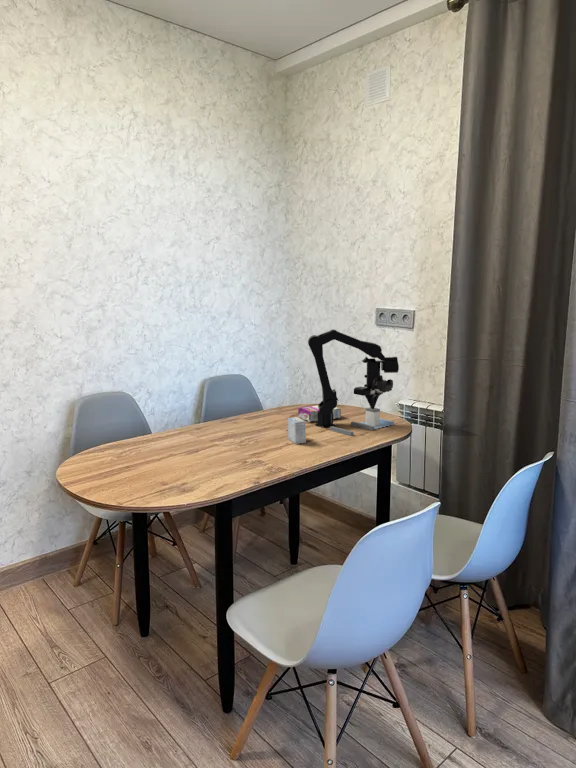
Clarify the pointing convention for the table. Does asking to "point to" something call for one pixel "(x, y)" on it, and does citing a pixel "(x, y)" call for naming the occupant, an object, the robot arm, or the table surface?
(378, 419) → the grey chamfered block
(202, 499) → the table surface
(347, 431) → the rail tray
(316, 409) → the candy bar box
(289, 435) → the medicine box
